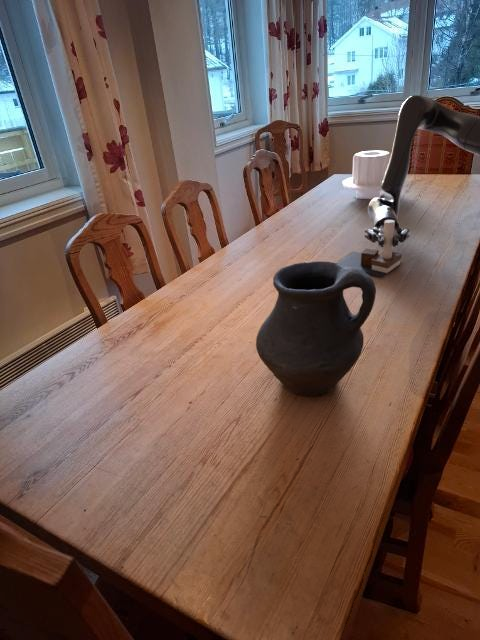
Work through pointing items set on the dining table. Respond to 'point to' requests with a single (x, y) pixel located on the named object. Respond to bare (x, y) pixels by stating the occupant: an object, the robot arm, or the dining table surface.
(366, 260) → the brown cube
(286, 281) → the pitcher
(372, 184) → the flanged gear
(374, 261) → the tall white pillar
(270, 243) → the dining table surface
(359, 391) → the dining table surface
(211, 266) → the dining table surface
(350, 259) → the mat
